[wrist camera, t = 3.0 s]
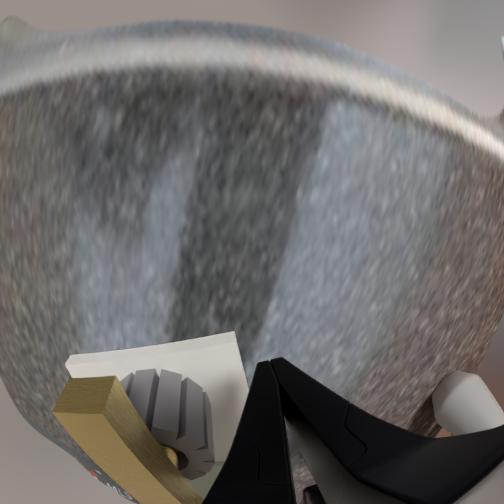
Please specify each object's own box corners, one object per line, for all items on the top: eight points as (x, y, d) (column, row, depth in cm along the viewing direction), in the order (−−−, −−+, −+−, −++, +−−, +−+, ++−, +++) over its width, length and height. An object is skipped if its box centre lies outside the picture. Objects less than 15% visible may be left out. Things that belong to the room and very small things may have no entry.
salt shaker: (424, 417, 21) (487, 497, 8) (422, 390, 19) (503, 484, 6) (464, 383, 21) (532, 450, 8) (467, 352, 19) (552, 426, 6)
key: (207, 454, 15) (214, 530, 9) (180, 457, 15) (181, 531, 9) (141, 311, 12) (102, 414, 6) (104, 318, 12) (52, 412, 6)
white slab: (273, 476, 19) (285, 519, 14) (169, 489, 18) (169, 530, 13) (234, 330, 14) (248, 398, 9) (70, 354, 13) (38, 411, 8)
